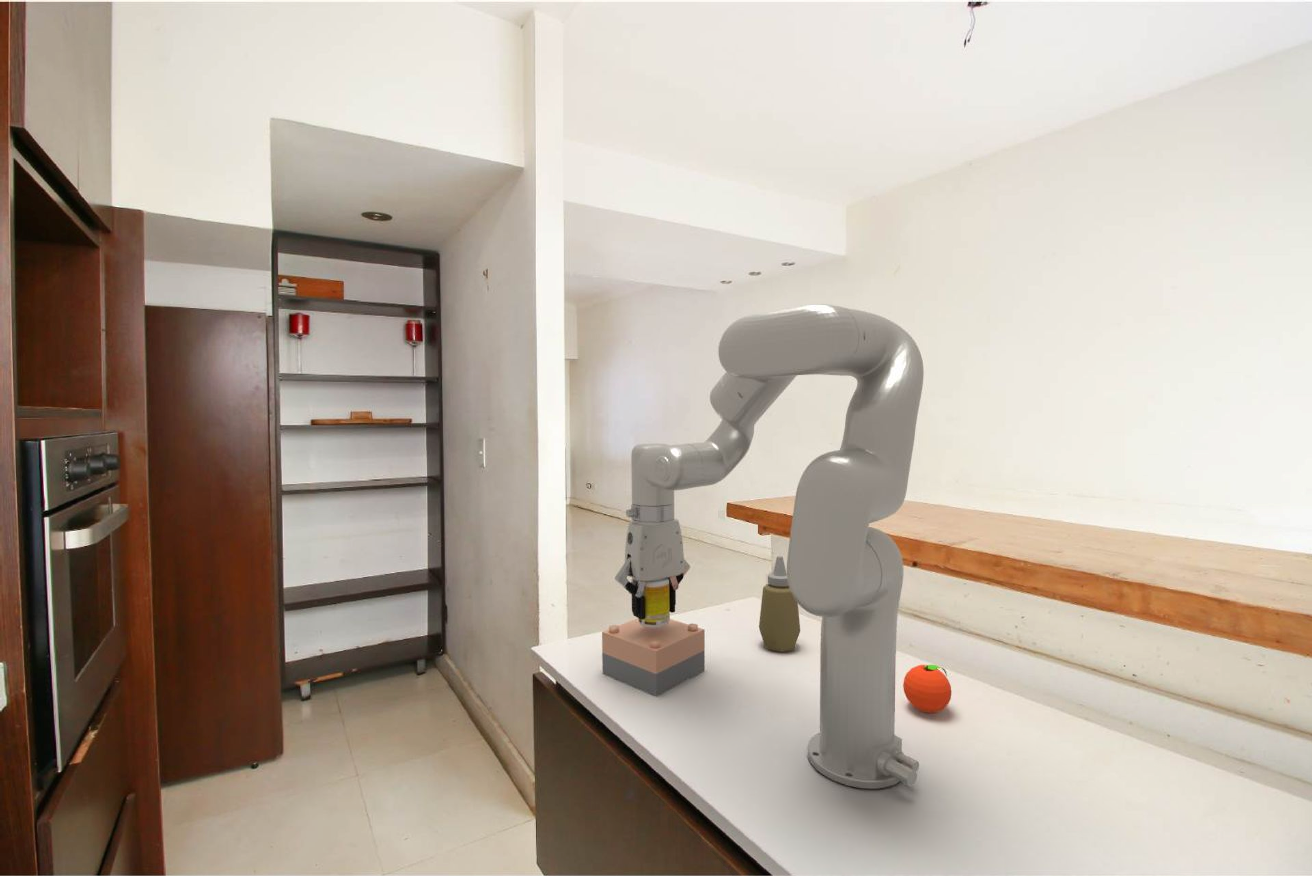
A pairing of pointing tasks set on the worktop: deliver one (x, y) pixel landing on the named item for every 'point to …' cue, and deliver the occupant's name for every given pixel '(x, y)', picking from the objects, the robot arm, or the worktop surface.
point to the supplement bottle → (656, 604)
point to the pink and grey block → (653, 654)
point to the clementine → (927, 688)
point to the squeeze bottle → (779, 612)
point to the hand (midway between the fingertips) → (654, 612)
